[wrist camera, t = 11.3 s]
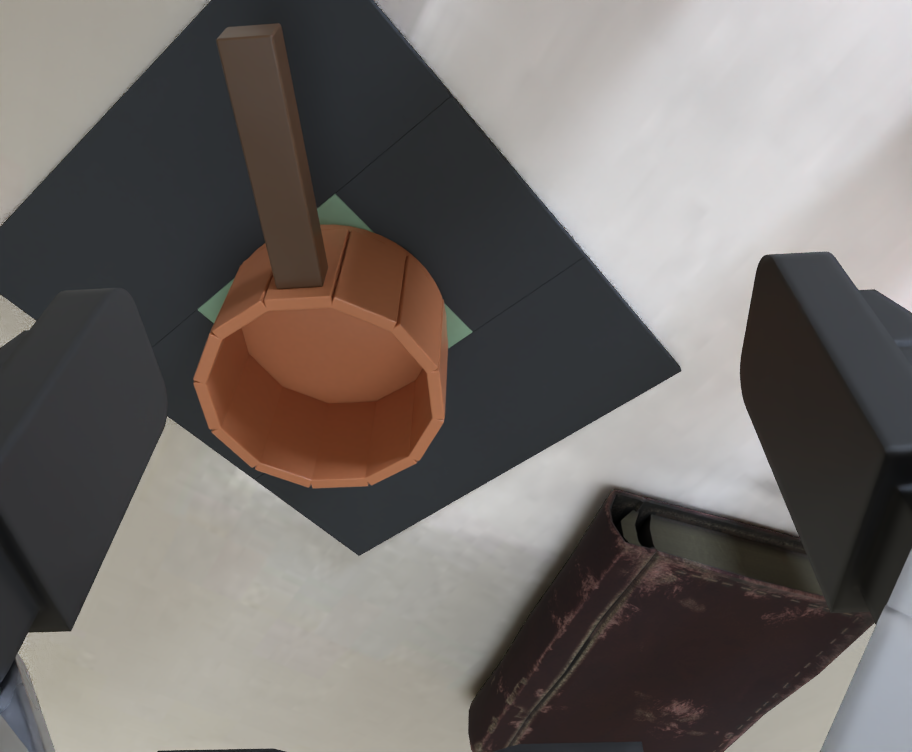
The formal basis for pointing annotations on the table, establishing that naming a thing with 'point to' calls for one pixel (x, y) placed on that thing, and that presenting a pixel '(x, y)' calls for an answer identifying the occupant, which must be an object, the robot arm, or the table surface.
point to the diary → (663, 636)
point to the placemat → (349, 204)
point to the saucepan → (316, 313)
